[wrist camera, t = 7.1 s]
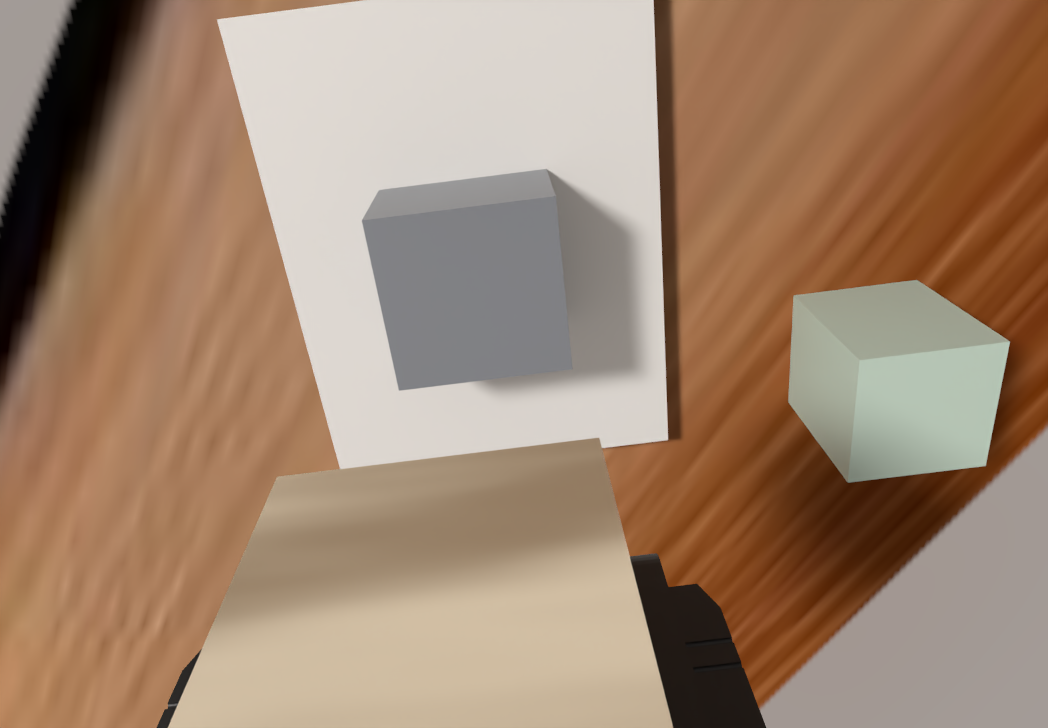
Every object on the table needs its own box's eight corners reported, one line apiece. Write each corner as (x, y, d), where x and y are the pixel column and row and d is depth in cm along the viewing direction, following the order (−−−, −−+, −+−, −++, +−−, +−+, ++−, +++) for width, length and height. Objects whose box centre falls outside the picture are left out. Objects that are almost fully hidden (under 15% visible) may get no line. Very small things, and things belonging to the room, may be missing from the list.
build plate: (226, 18, 25) (168, 23, 20) (646, -36, 24) (682, -43, 20) (347, 466, 33) (324, 541, 28) (663, 427, 32) (691, 496, 28)
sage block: (793, 295, 30) (859, 360, 25) (916, 279, 30) (1010, 341, 25) (787, 401, 32) (847, 482, 27) (902, 387, 32) (985, 466, 27)
